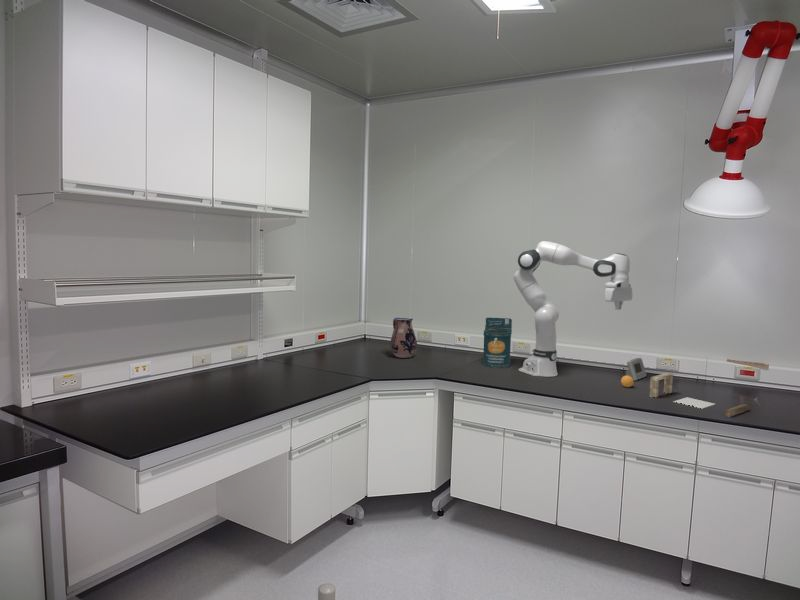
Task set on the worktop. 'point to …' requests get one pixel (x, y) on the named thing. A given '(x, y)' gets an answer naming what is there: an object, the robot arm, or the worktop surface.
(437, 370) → the worktop surface
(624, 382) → the ball
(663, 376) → the bridge
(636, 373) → the digital clock
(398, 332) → the ceramic pitcher
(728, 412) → the stopper
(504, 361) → the teal food package
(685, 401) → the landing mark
